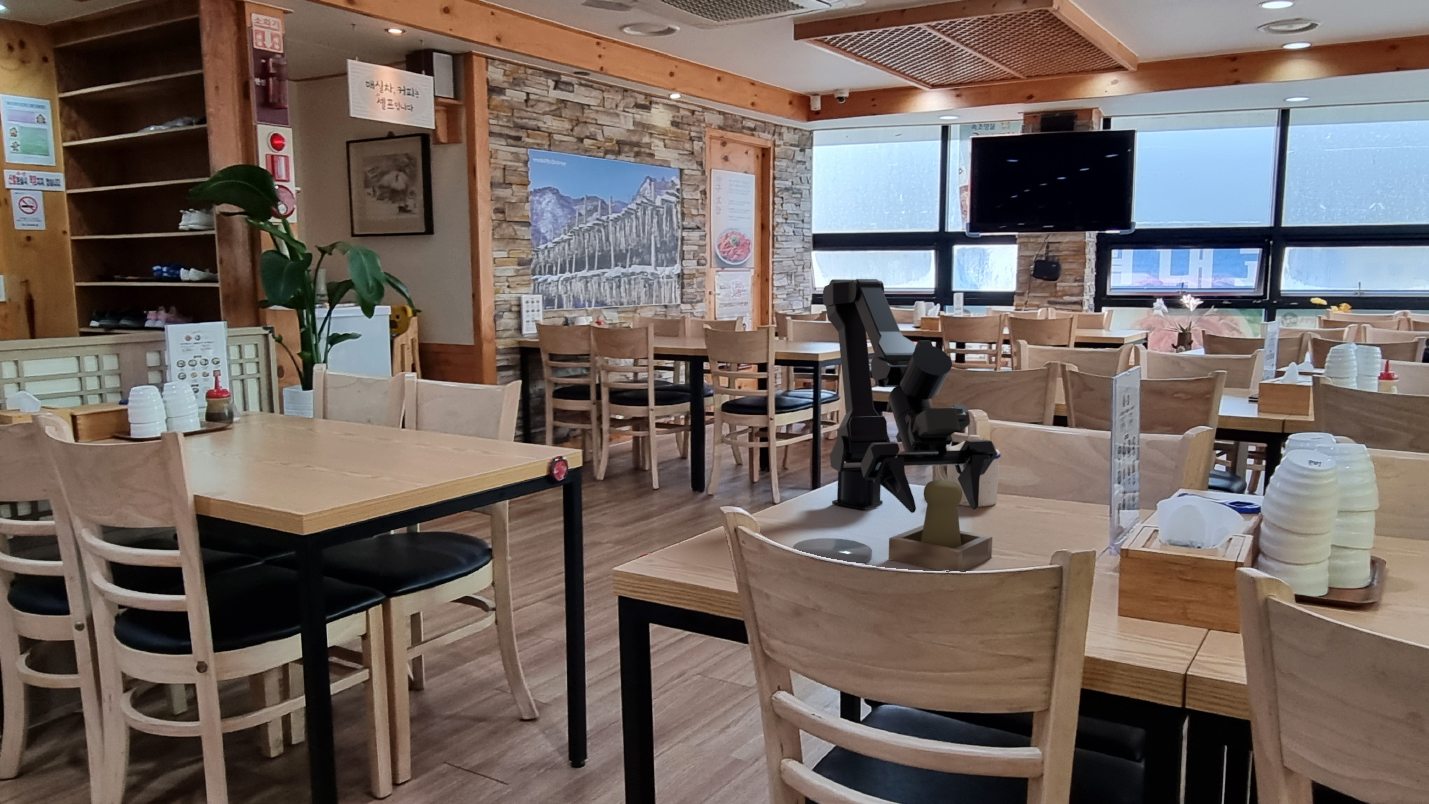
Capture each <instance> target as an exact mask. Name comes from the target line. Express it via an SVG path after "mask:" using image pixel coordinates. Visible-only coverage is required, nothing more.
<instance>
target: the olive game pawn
mask: <svg viewBox="0 0 1429 804" xmlns="http://www.w3.org/2000/svg"><path fill="white" fill-rule="evenodd" d="M923 499H924V501H925V502H926V511H925V517H924V521H923V525H924V526H923V532H922V538H921V542H924V543H929V544H933V545H938V546H943V547H948V548H953V549H955V548H957V547H959V546H961V538H960V531H961V529H960V520H959V519H960V518H959V507H958V506H959V505H958V504H959V503H960V502H961V499H962V489H961V487H960V485H959V484H957V483H955V482H952V481H948V480H942V479H936V480H930V481H928V482H927V483H926V484H925V486H924V489H923Z"/></svg>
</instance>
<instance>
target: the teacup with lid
mask: <svg viewBox="0 0 1429 804" xmlns="http://www.w3.org/2000/svg"><path fill="white" fill-rule="evenodd" d="M967 440H981V437H980V435H977V434H968V437H967ZM965 441H966V440H963V441H962V442H960V443H958V444H956V445H951V446H949V447H948V448H947V451H955V450H960V449H961V447H962V446H963V444H964V442H965ZM996 451H997V455H996V457H995V458H994V460H993V461H992V463H991V464H990V466H989V467H988V469H987V470H986V472H985V474H982V475H980V480H979V502H978V508H979V507H980V508H981V507H982V506H983V507H990V506H993V505H995V504H996V503H997V501H998V488H999V485H998V484H999V465H1000V464H999V463H1000V458H1001V456H1002V455H1001V452H1000V450H999V449H997V448H996ZM946 466H947V467H946V469H947V470H946V471H945V465H939V466H937V470H938V474H939V476H940V478H941V480H948V481H952V482H955V483H957V484H959V485H960V483H959V480H958V477H959V476H960V474H959V473H958V472H957V471H956V468H955V465H946ZM960 487H961V485H960ZM961 489H962V487H961ZM958 506H963V507H964V506H965V507H971V506H970V504H969V503H968V500H967V498H966V496H965V494H964V491H963V489H962V499H961V502H960V503H959V504H958Z"/></svg>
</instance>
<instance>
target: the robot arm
mask: <svg viewBox="0 0 1429 804" xmlns="http://www.w3.org/2000/svg"><path fill="white" fill-rule="evenodd" d="M885 295H886V294H885V286H884V282H883V281H882V280H879V279H878V278H856V279H843V278H841V279H840V278H839V279H837V278H836V279H831V280H830V281H829V283H828V284H827V285H825V286H824V287H823V291H822V303H823V305H824V306H825V310H826V311H825V312H826V315H827V319H828V320H829V322H830V323H831V325H832V327H834V328H835V330H836V331H837V333H838V342H839V351H840V352H839V353H840V354H839V355H840V364H841V372H842V373H841V375H842V384H843V386H842V387H843V395H844V396H843V397H844V405H845V415H844V416H843V419H842V421H841V423H840V425H839V427H838V428H837V429H838V430H837V434H838V437H837V439H836V441H835V443H834V445H833V448H832V450H831V452H830V453H829V459H830V460H829V461H830V467H831V468H832V469H834V470H836V471H837V489H836V490H837V495H836V497H837V499H834V500H832V501H831V504H832V505H835V506H836V505H837V506H842V507H848V508H853V509H857V510H867V509H870V508H873V507H877V506H880V505H882V504H883V500H881V487H883V488H884V489H885V490H887V491H888V492H889V493H890V494H892V495H893V496H894V497H895V498H896V499H897V500H898V501H899V502H900V503H901V504H902V505H903V506H904V507H905V508H906V509H907V510H908V512H910V514H914V513H915V512H916V511H917V507H916V502H915V498H914V495H913V492H912V489H911V487H910V483H909V481H908V478H907V475H906V470H905V469H906V468H905V467H906V466H907V467H909V466H911V467H912V466H919V467H930V466H931V467H932V466H934V467H936V466H937V467H938V466H939V465H944V466H947V465H955V468H956V471H957V472H958V473H959V474H960V476H959V477H958V480H959V483H960V485H961V487H962V489H963V491H964V494H965V496H966V498H967V500H968V503H969V504H970V506H969V507H971V509H972V510H973V511H976V510H978V508H979V507H978V502H979V480H980V475H982V474H985V472H986V470H987V469H988V467H989V466H990V464H991V463H992V461H993V460H994V458H995V457H996V455H997V451H996V449H997V448H996V445H995V444H994V443H993V441H992V440H989V439H980V440H968V439H966V440H964V441H965V442H964V444H963V446H962V447H961V449H960V450H955V451H947V450H948V448H947V446H949V445H951V444H952V442H953V440H954V439H953V438H952V437H953V436H952V435H953V434H955V433H956V432H957V433H958V432H960V431H961V430H964V429H965V428H967V427H969V426H970V423H971V418H970V413H969V410H968V408H967V406H966V405H965V404H953V405H952V407H951V406H950V407H933V405H932V403H931V400H930V399H934V398H935V397H936V396H937V395H938V394H939V392H940V391H941V388H942V387H943V384H944V382H945V381H946V378H947V377H948V375H949V374H950V371H951V370H952V367H953V362H952V358H951V356H950V355H948V354H947V353H946V352H945V351H944V350H942V349H941V348H939V347H937V346H934V345H933V342H932V341H931V340H917V342H916V344H915V342H913V341H912V340H911V339H909V338H907V337H905V336H903V333H902V332H901V330H900V327H899V325H898V323H897V320H896V318H895V316H894V313H893V311H892V309H891V307H890V304H889V302H888V300H887V297H886V296H885ZM867 337H868V338H867ZM868 339H869V342H870V345H871V347H872V349H873V356H872V358H871V361H870V358H869V357H870V356H869V348H868V347H869V346H868ZM872 379H873V380H874V382H875V383H876V385H877V386H878V387H879V388H893V389H892V390H891V391H890V393H889V395H888V401H887V402H888V403H887V405H886V413H888V414H889V413H890V414H891V413H892V416H893V418H894V421H895V424H896V429H897V431H898V432H896V433H897V434H896V435H895V438H896V442H895V441H891V440H890V437H889V434H888V424H887V423H888V421H887V419H886V417H885V416H884V415H880V414H879V413H878V412H877V411H876V409H875V404H874V396H873V387H872ZM899 443H901V444H902V447H903V451H902V450H901V451H900V446H899Z"/></svg>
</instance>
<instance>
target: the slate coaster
mask: <svg viewBox="0 0 1429 804" xmlns="http://www.w3.org/2000/svg"><path fill="white" fill-rule="evenodd" d="M793 548H794V549H797V550H799V551H802V552H806V553H810V554H814V555H817V556H821V557H826V558H831V559H837V560H843V561H847V562H856V563H865V564H867V563H869V562H871V560H872V559H873V550H872V547H870V546H869V545H867V544H866V543H862V542H859V541H855V540H852V539H845V538H844V539H843V538H830V537H828V538H827V537H825V538H822V537H821V538H819V537H818V538H811V539H809V538H808V539H804V540H801V541H798V542H796V543H795V544H794V545H792V549H793Z"/></svg>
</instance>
